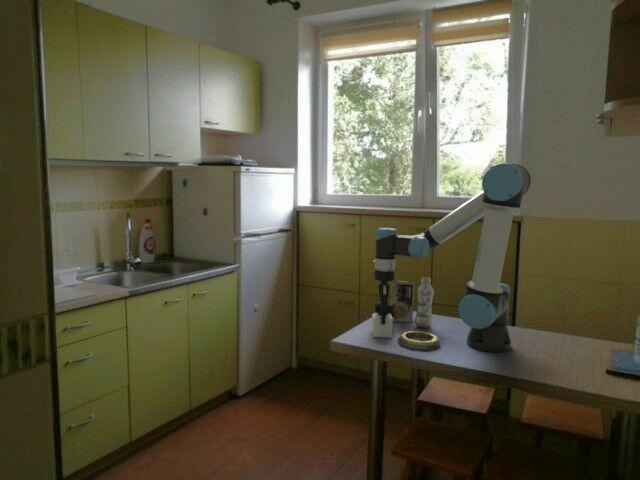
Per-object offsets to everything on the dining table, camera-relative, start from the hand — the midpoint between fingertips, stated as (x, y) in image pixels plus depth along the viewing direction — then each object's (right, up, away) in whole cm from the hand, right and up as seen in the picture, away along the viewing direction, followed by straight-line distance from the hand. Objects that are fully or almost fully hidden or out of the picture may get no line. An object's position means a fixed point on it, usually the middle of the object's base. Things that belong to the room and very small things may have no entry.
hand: (382, 328), depth 185 cm
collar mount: (+12, -4, -9) cm, 15 cm away
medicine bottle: (0, -2, 0) cm, 2 cm away
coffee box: (+11, 0, +20) cm, 23 cm away
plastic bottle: (+18, -1, +11) cm, 21 cm away
